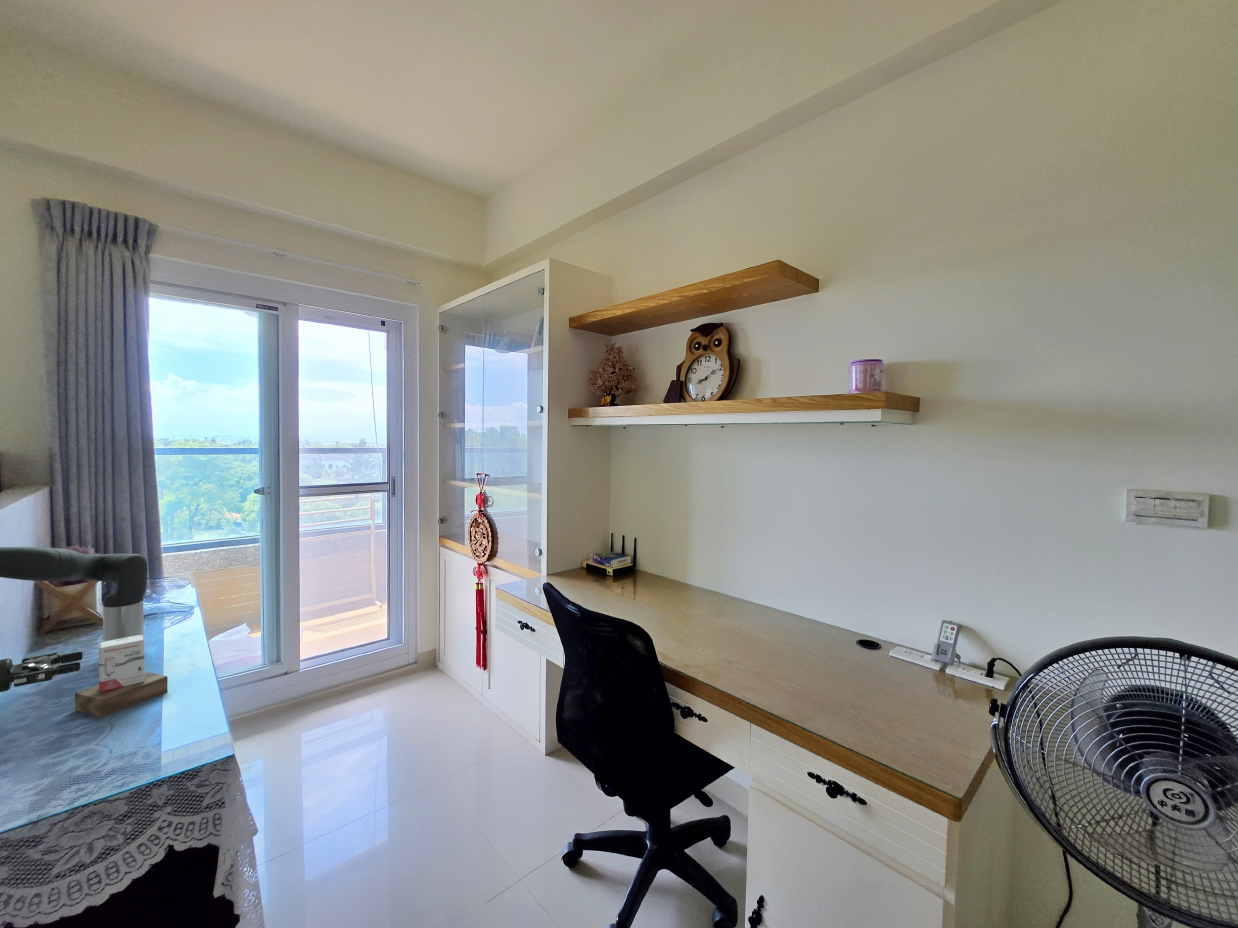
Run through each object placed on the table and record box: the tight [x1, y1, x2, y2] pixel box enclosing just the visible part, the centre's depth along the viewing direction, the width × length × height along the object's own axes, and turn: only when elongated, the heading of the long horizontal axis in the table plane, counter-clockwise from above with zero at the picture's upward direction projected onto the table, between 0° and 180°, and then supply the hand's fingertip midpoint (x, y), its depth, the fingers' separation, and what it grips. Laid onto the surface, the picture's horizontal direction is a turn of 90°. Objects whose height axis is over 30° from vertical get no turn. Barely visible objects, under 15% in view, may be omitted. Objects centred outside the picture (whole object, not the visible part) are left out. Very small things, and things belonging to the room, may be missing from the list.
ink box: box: [98, 635, 145, 692], centre depth 132 cm, size 9×5×12 cm, turn 137°
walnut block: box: [74, 670, 169, 719], centre depth 132 cm, size 11×14×5 cm
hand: (81, 660), depth 127 cm, fingers open, 8 cm apart
